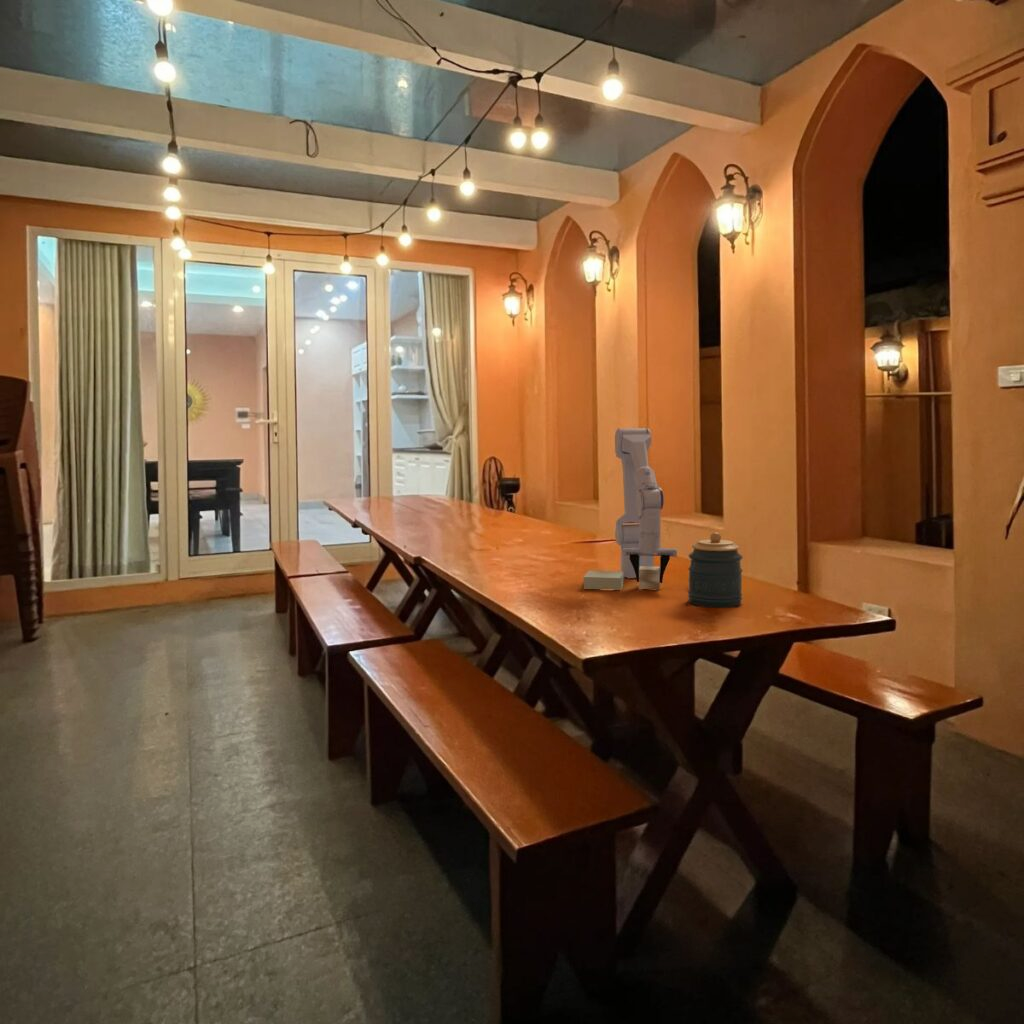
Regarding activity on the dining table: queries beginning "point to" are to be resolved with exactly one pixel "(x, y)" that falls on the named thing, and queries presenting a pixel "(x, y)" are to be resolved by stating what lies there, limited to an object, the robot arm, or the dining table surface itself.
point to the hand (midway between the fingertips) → (649, 582)
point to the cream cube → (649, 577)
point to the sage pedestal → (604, 580)
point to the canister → (715, 573)
